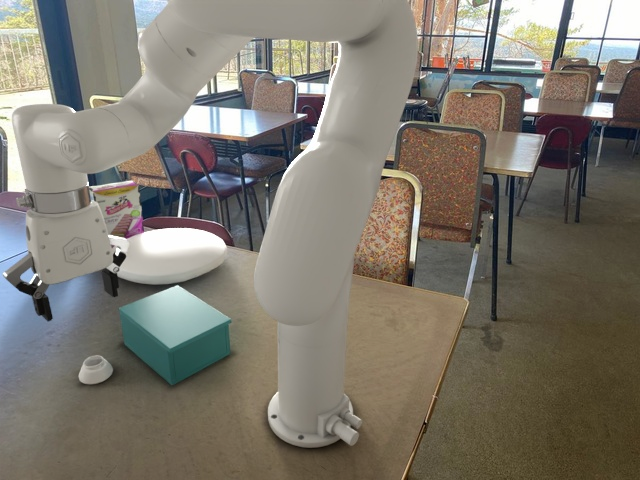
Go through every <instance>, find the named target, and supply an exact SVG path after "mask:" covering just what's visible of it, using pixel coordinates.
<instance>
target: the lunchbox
mask: <svg viewBox="0 0 640 480" xmlns="http://www.w3.org/2000/svg"><path fill="white" fill-rule="evenodd" d="M118 312H119V311H118ZM119 318H120V324H121V331H122V337H123V342H124V345H125V346H126V347H127V348H128V350H130V351H132V352H133V353H134V354H135V355H136V356H137V357H138V358H139V359H141V360H142V361H143V362H144V363H145V364H146V365H147V366H149V367H150V368H151V369H152V370H153V371H155V373H156V374H157V375H159V376H160V377H161V378H163V379H164V380H165V381H166V382H167V383H168V384H169V385H170V386H174V385H176V384H177V383H180V382H182V381H184V380H185V379H187V378H189V377H191V376H192V375H193V376H194V374H196V373H198V372H200V371H202V370H203V369H206V368H207V367H209V366H211V365H212V364H214V363H215V364H216V362H218V361H220V360H222V359H224V358H226V357H227V356H229V355H231V342H230V339H231V338H230V324H228V325H226V326H224V327H222V328H220V329H218V330H216V331H214V332H212V333H210V334H208V335H206V336H204V337H202V338H200V339H198V340H196V341H194V342H192V343H190V344H187V345H185V346H183V347H181V348H179V349H177V350H175V351H173V352H171V353H170V352H169V351H168V350H166V349H165V348H164V347H163V346H161V345H160V344H159V343H158V342H156V341H155V340H154V339H153V338H151V337H150V336H149V335H148V334H146V333H145V332H144V331H143V330H141V329H140V328H139V327H138V326H136V325H135V324H134V323H133V322H131V321H130V320H129V319H128V318H126V317H125V316H124V315H123V314H121V313H120V312H119Z"/></svg>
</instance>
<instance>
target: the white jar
mask: <svg viewBox="0 0 640 480" xmlns="http://www.w3.org/2000/svg"><path fill="white" fill-rule="evenodd" d="M113 372H114V368H113V365H112V364H111V363H110V362H109V361H108V360H107V359H105V358H104V356H102V355H97V354H95V355H91V356H89V357H87V358H86V359H84V361H83V362H82V365H81V368H80V370H79V373H78V379H79V382H81V383H82V384H85V385H97V384H99V383H102V382H104V381H106V380H107V379H109V378H110V377H111V376H112V375H113Z"/></svg>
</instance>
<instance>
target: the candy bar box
mask: <svg viewBox="0 0 640 480" xmlns="http://www.w3.org/2000/svg"><path fill="white" fill-rule="evenodd" d="M89 190H90V196H91V200H93V201H95V202H97V203H98V205H99V207H100V209H101V212H102V215H103V218H104V221H105V224H106V228H107V231H108V235H111V236H116V237H121V238H125V239H127V238H130V237H132V236H134V235H137V234H141V233H144V232H145V226H144V217H143V209H142V208H143V207H142V200H141V191H140V185H139V184H138V183H137V182H135V181H134V180H126V181H125V180H124V181H119V182H111V183H105V184H97V185H92V186H89ZM111 247H112V248H113V247H114V245H111Z"/></svg>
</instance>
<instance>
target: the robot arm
mask: <svg viewBox="0 0 640 480" xmlns="http://www.w3.org/2000/svg"><path fill="white" fill-rule="evenodd" d="M166 2H167V4H166V5H165V6H164V7H163V9H162V10H161V11H160V12H159V13H158V14H157V15H156V16H155V17H154V18H153V19H152V21H150V23H149V24H148V25H147V26H146V27H145V28H144V29H143V31H142V32H141V33H140V34H139V37H138V39H137V51H138V54H139V56H140V58H141V61H142V62H143V64H144V66H145V68H146V69H145V70H144V72H143V74H142V75H141V77H140V78H139V80H138V81H137V82H136V83H134V85H133V86H132V88H131V89H130V90H129V91H128V92H127V93H126V94H125V95H124V96H123V97H121V99H119V100H118V101H117V102H115V103H110V104H105V105H100V106H96V107H92V108H88V109H83V110H79V111H75V110H74V109H73V108H72V107H71V106H67V105H64V104H59V103H58V104H57V103H38V104H37V103H35V104H28V105H23V106H19V107H17V108H16V109H15V110H13V112H12V114H11V123H12V129H13V134H14V138H15V143H16V148H17V151H18V156H19V161H20V165H21V171H22V175H23V179H24V180H23V181H24V184H25V188H24V195H21V196H19V197H16V198H15V201H16V205H17V207H18V208H20V209H21V208H26V209H27V208H29V209H28V210H26V212H25V236H26V246H27V254H26V255H24V256H23V257H22V258H20V259H19V260H18V261H16V262H15V263H14V264H12V266H10V267H9V268H7V269H6V270H5V271H4V272H3V273H2V276H3V278H4V279H5V280H6V281H7V282H8V283H9V284H11V285H12V287H14V288H15V289H17V290H18V292H20V293H23V294H26V295H28V296H30V297H31V298H32V302H33V307H34V310H35V311H34V312H35V314H36V315H37V316H38V317H41V316H42V318H44V320H45V321H46V322H51V321H53V319H54V316H53V312H52V307H51V303H50V298H49V296H48V295H47V294H46V291H47V290H48V289H49V287H50V285H51V286H52V285H58V284H62V283H65V282H68V281H71V280H74V279H78V278H81V277H82V276H83V277H84V276H87V275H90V274H93V273H96V272H99V271H101V276H102V282H103V288H104V289H103V290H104V291H105V293H107V295H109V296H110V297H112V298H117V297H119V292H118V289H119V288H120V283H119V277H118V276H117V273H118V272H119V271H120V266H121V264H122V263H123V261H124V260H125V259H126V253H127V251H128V248H129V245H130V241H129V240H127V239H125V238H121V237H116V236H111V235H108V231H107V228H106V224H105V221H104V218H103V215H102V212H101V209H100V207H99V205H98V203H97V202H95V201H93V200H91V196H90V190H89V187H90V185H89V178H88V175H93V174H97V173H101V172H104V171H107V170H110V169H111V168H114V167H117V166H119V165H120V164H123V163H125V162H128V161H130V160H133V159H136V158H137V157H141V156H143V155H145V154H146V153H147V152H149V151H150V150H152V148H154V147H155V146H156V145H157V144H158V143H159V142H161V140H163V138H164V137H166V136H167V135H168V134H169V133H170V132H171V131H172V130H173V129H175V127H176V126H177V125H178V124H179V123H180V122H181V120H182V119H183V118H184V117H185V116H186V114H187V113H188V111H189V110H190V108H191V107H192V106H193V103H194V102H195V101H196V99H197V96H198V94H199V93H200V92H201V90H203V88H205V86H207V85H208V83H209V82H210V81H212V79H213V78H215V76H216V75H217V74H219V73H220V72H221V71H222V70H223V69H224V68H225V67H226V66H227V65H228V64H229V63H230V62H231V61H232V60H233V59H234V58H235V57H236V56H237V55H238V54H239V53H240V52H241V51H242V50H243V49H244V48H245V47H246V46H247V45H248V44H249V43H250V42H251V41H252V40H253V39H268V40H269V39H270V40H290V41H301V42H302V41H303V42H316V43H333V44H334V43H337V45H338V58H337V62H336V67H335V70H334V73H333V75H332V77H331V80H330V83H329V86H328V88H327V92H326V96H325V100H324V105H323V108H322V111H321V114H320V117H319V120H318V124H317V126H316V129H315V132H314V135H313V137H312V139H311V141H310V143H309V144H308V145H307V147H306V148H305V149H304V150H303V151H302V152H300V154H299V155H298V156H297V157H296V158H294V160H293V161H292V162H291V163H290V164H289V166H288V167H287V169H286V170H285V172H284V174H283V176H282V178H281V180H280V182H279V185H278V187H277V190H276V193H275V197H274V199H273V202H272V207H271V210H270V214H269V216H268V220H267V224H266V227H265V231H264V235H263V238H262V242H261V246H260V249H259V252H258V256H257V259H256V263H255V268H254V272H253V289H254V293H255V296H256V299H257V301H258V303H259V305H260V306H261V308H262V309H263V311H264V312H265V313H266V314H267V315H268V316H269V317H270V318H272V319H273V320H274V321H276V322H277V392H276V393H275V394H274V395H273V396H272V398H271V400H269V403H268V407H267V422H268V425H269V427H270V428H271V430H272V432H273V433H274V434H275V435H276V436H277V437H278V438H279V439H280V440H282V441H284V442H286V443H288V444H290V445H292V446H297V447H299V448H310V449H312V448H322V447H325V446H326V447H327V446H329V445H332V444H334V443H337V441H339V440H342V441H344V443H346V444H348V445H349V446H350V447H353V446H354V445H355V444H356V443H357V442H358V440H359V438H360V432H358V431H357V430H359V429H360V428H361V426H362V425H363V420H362V419H361V418H359V417H358V416H356V415H355V414H354V407H353V405H352V404H353V403H352V402H351V400H350V397H349V396H348V395H347V394H346V393H345V382H346V381H345V380H346V378H345V377H346V365H347V364H346V363H347V348H348V347H347V345H348V332H349V317H350V316H349V315H350V302H351V293H352V292H351V291H352V284H353V274H354V268H355V267H354V266H355V258H356V257H355V254H356V253H357V252H356V251H357V248H358V246H359V244H360V241H361V239H362V237H363V233H364V231H365V228H366V226H367V223H368V220H369V217H370V215H371V212H372V209H373V207H374V204H375V201H376V198H377V196H378V193H379V189H380V185H381V181H382V174H383V170H384V166H385V164H386V161H387V158H388V155H389V152H390V150H391V147H392V145H393V142H394V140H395V137H396V134H397V131H398V128H399V125H400V121H401V118H402V116H403V113H404V110H405V108H406V104H407V101H408V98H409V95H410V93H411V89H412V87H413V82H414V79H415V75H416V69H417V64H418V53H419V51H418V50H419V38H418V29H417V24H416V20H415V16H414V13H413V10H412V7H411V5H410V3H409V0H166ZM111 245H114V246H117V250H116V251H115V252H114V254H113V253H112V247H111ZM29 269H30V270H31V272H32V273H33V274H34V275H33V277H32V278H31V279H30V281H29V282H28V281H26V280H23V279H21V276H22V275H23V274H25V273H26V272H27V271H29ZM352 427H353V428H354V429H353V428H352ZM355 429H356V430H355Z"/></svg>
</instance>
